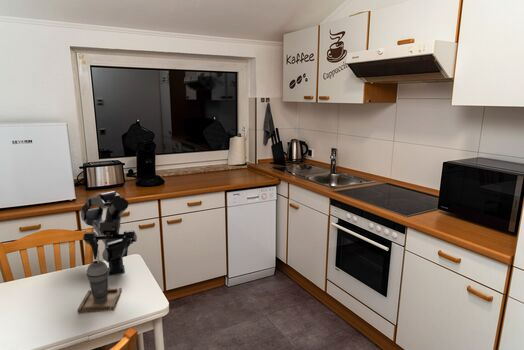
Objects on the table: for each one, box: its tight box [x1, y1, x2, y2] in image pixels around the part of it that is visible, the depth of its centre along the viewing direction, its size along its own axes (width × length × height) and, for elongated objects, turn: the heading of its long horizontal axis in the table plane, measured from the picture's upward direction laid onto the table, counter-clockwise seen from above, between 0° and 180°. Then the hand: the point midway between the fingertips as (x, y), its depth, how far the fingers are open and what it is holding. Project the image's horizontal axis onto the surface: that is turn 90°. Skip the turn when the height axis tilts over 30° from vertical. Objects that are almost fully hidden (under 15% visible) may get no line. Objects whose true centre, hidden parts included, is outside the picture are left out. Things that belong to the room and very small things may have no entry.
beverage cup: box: [86, 249, 109, 304], centre depth 129 cm, size 7×7×20 cm
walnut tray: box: [77, 287, 123, 314], centre depth 131 cm, size 12×12×2 cm
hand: (108, 258), depth 135 cm, fingers open, 9 cm apart
